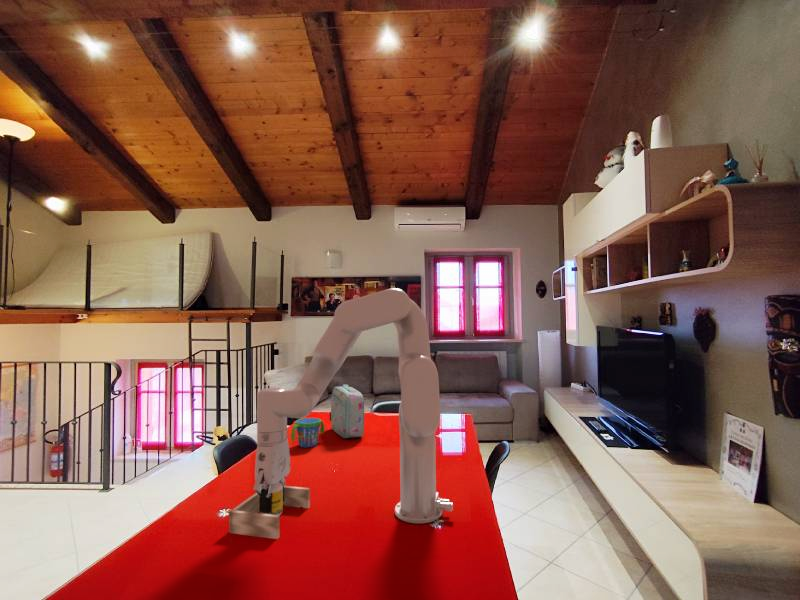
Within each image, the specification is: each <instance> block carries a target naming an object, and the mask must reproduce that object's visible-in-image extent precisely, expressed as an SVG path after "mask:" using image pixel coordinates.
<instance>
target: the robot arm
mask: <svg viewBox="0 0 800 600" xmlns="http://www.w3.org/2000/svg"><path fill="white" fill-rule="evenodd" d="M392 323H393V325H394V326H395V328H396V332H397V342H398V343H397V344H398V372H397V373H398V376H399V381H400V397H401V398H400V399H401V400H400V402H399V408H398V424H399V474H400V475H399V480H400V482H399V484H400V486H399V487H400V491H399V492H400V495H399V497H400V501H399V502H398V503H397V504H396V505H395V506H394V514H395V516H396V518H398V519H399V520H401V521H403V522H406V523H411V524H428V523H432V522H434V521H437V520H438V519H439V518H441V516H442V514H443V511H447V512H453V510H454V503H453V502H450V499H448V498H442V497H439V492H438V491H437V475H436V474H437V473H436V472H437V469H436V431H437V429H438V427H439V425H440V421H441V403H440V402H441V401H440V400H441V398H440V396H441V395H440V382H439V381H440V379H439V371H438V368H437V366H436V364H435V362H434V361H433V360H432V358H431V345H430V334H429V333H430V331H429V326H428V321H427V318H426V316H425V314H424V312H423V310H422V309H421V308H420V306H419V305H418V303H416V302H415V301H414V300H412V299H411V298H410V296H409V295H408V294H407V293H406V292H405V291H404V290H403V289H401V288H398V287H397V288H396V287H395V288H394V287H392V288H388V289H383V290H380V291H377V292H374V293H370V294H366V295H364V296H359V297H356V298H352V299H347V300H344V301H343V302H342V303H340V304H338V306H337V307H336V309H335V311H334V314H333V318H332V319H331V321H330V323H329V325H328V326H327V328H326V329H325V332H324V333H323V335H322V337H320V339H319V341H318V343H317V344H316V346H315V347H314V350H313V354H312V358H311V361H310V363H309V365H308V366H307V368H306V370H305V372H304V374H303V376H302V377H301V379H300V380H299V382H297V385H296V387H294V388H293V389H291V390H290V389H289V390H286V389H285V388H282V387H267V388H262V389H260V390H259V391H258V392H257V397H256V422H257V423H256V444H257V446H256V453H255V466H254V467H255V468H254V481H255V483H254V485H253V488H252V489H253V490H252V491H254V492H255V493H256V492H257V494H258V497H259V511H260V512H259V513H261V512H263V513H271V512H272V496H270V493H271V487H272V486H273V485H275V484H276V483H278V482H279V481H280V483H282V485H283V502H284V486H286V478H287V477H288V475H289V474H290V472H291V454H290V453H291V452H290V446H289V445H290V444H289V439H288V418H291V419H303V418H307V417H308V416H309V415H310V414H311V413H312V412H313V410H314V409H315V407H316V406H317V404H318V403H319V401H320V399H321V397H322V396H323V394H324V392H325V390H326V389H327V387H328V386H329V384H330V383H331V381H332V379H333V377H334V376H335V374H336V373H337V372H338V371H339V370H340V369H341V367H342V365H343V364H344V362H345V360H346V358H347V357H348V356H349V354H350V353H351V351H352V349H353V348H354V345H355V344H356V343H357V340H358V339H359V337H360V336H361V334H362V332H365V331H370V330H372V329H376V328H379V327H381V326H382V327H383V326H386V325H389V324H392ZM264 481H266V483H265V482H264ZM264 486H267V491H266V490H265V489H263V488H264Z"/></svg>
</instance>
